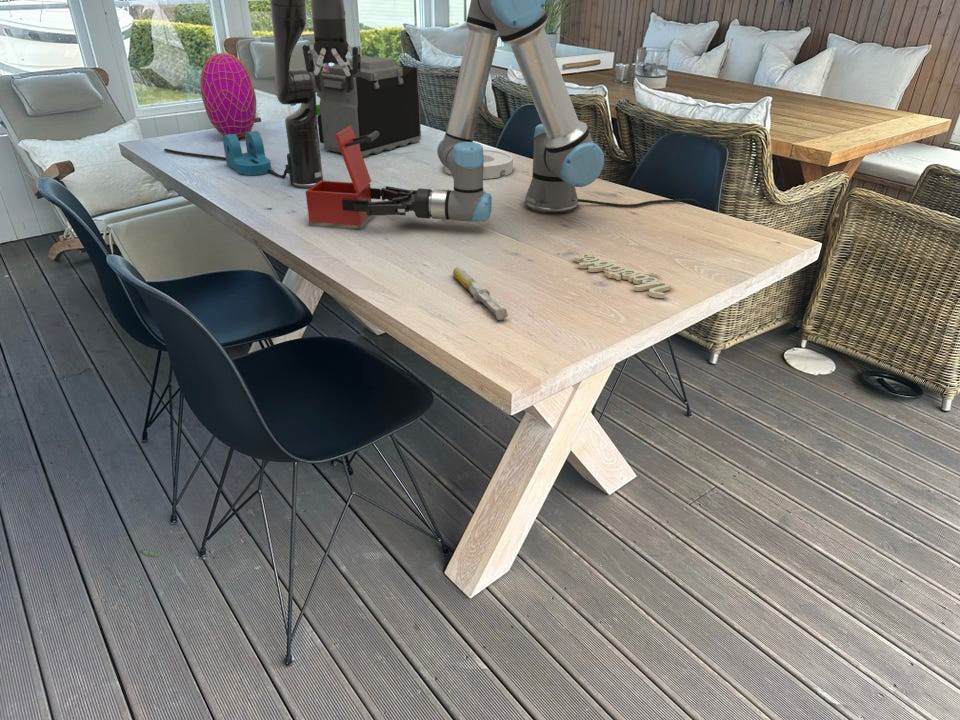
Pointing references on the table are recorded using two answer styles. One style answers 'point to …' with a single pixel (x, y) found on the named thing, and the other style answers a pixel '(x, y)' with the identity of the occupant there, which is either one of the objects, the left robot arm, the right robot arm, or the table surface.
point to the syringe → (479, 293)
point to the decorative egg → (228, 95)
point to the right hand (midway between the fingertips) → (350, 198)
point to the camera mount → (246, 154)
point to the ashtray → (494, 164)
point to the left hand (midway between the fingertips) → (335, 91)
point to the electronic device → (371, 105)
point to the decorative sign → (625, 274)
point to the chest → (336, 205)
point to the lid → (355, 156)
